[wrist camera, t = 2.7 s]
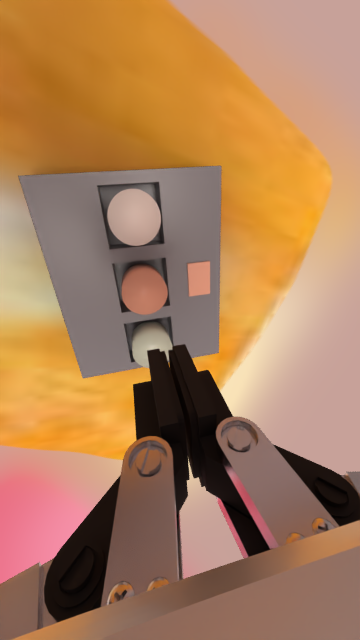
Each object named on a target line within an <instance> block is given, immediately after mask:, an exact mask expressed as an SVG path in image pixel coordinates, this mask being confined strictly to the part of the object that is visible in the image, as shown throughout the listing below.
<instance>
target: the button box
mask: <svg viewBox="0 0 360 640" xmlns="http://www.w3.org/2000/svg"><path fill="white" fill-rule="evenodd" d="M18 177H19V180H20V183H21V186H22V190H23V193H24V196H25V199H26V202H27V205H28V208H29V211H30V215H31V218H32V221H33V224H34V227H35V230H36V233H37V236H38V240H39V243H40V246H41V249H42V252H43V255H44V258H45V261H46V265H47V268H48V271H49V274H50V277H51V280H52V283H53V286H54V290H55V293H56V296H57V299H58V302H59V305H60V308H61V311H62V315H63V318H64V321H65V324H66V327H67V330H68V333H69V336H70V340H71V343H72V346H73V349H74V352H75V355H76V358H77V361H78V365H79V368H80V371H81V374H82V377H83V378H88V377H93V376H98V375H104V374H109V373H114V372H119V371H125V370H130V369H135V368H141V367H143V366H141V365H139V364H138V363H137V362H136V361H135V360H134V357H133V351H132V340H131V337H132V333H133V331H134V329H135V328H136V327H137V326H138V325H140V324H141V323H144V322H147V321H155V322H158V323H160V324H162V325H163V326H164V327H165V328H166V330H167V332H168V335H169V338H170V340H171V343H172V346H176V345H182V344H185V345H186V347H187V349H188V352H189V354H190V356H191V358H194V357H199V356H204V355H210V354H215V353H219V296H220V226H221V166H206V167H186V168H166V169H146V170H125V171H105V172H85V173H65V174H45V175H25V176H18ZM126 189H139V190H142V191H144V192H146V193H147V194H149V195H150V196H151V197H152V198H153V199H154V200H155V202H156V203H157V205H158V207H159V210H160V214H161V224H160V228H159V231H158V233H157V235H156V236H155V237H154V238H153V239H152V240H151V241H150V242H148V243H146V244H144V245H140V246H132V245H128V244H125V243H123V242H122V241H120V240H119V239H118V238H117V237H116V236H115V235H114V234H113V232H112V231H111V229H110V226H109V223H108V218H107V213H108V207H109V204H110V202H111V200H112V199H113V198H114V196H115V195H117V194H118V193H119V192H121V191H123V190H126ZM137 264H147V265H150V266H152V267H154V268H155V269H157V270H158V272H159V273H160V275H161V276H162V278H163V280H164V282H165V284H166V286H167V290H168V295H167V299H166V302H165V304H164V305H163V306H162V308H161V309H159V310H158V311H156V312H154V313H152V314H147V315H142V314H137V313H134V312H132V311H131V310H130V309H128V308H127V306H126V305H125V304H124V302H123V299H122V278H123V275H124V273H125V272H126V271H127V270H128V269H129V268H130V267H132V266H134V265H137ZM168 362H169V360H168Z"/></svg>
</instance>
